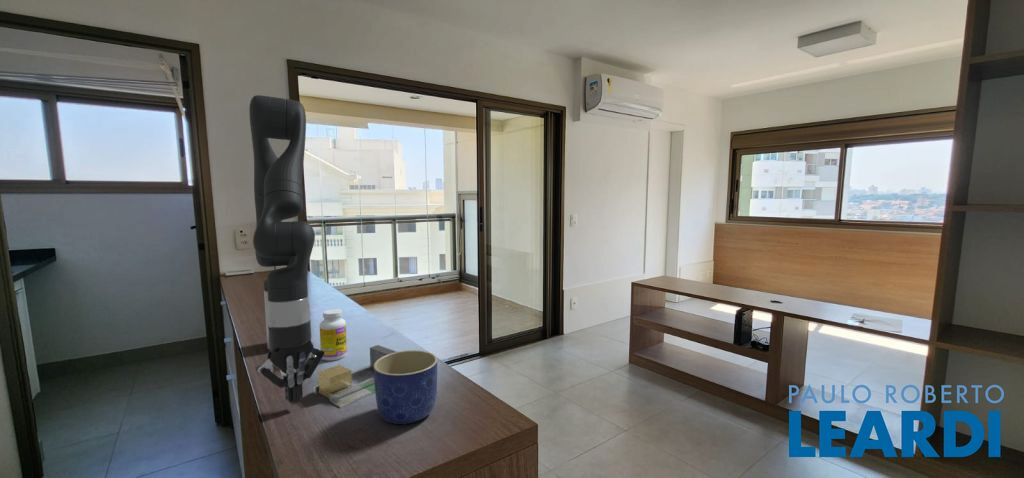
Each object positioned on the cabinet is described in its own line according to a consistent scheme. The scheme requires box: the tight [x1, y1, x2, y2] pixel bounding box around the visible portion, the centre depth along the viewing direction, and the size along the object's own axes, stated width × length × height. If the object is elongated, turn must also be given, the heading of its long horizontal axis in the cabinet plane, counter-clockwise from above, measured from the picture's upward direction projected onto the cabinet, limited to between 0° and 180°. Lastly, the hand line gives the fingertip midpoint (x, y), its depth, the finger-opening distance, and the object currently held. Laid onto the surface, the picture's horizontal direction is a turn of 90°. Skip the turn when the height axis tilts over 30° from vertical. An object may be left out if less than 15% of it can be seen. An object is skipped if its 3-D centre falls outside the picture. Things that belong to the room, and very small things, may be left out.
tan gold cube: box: [317, 364, 353, 400], centre depth 88 cm, size 8×5×5 cm, turn 53°
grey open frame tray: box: [312, 344, 397, 408], centre depth 93 cm, size 11×17×6 cm, turn 143°
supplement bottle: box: [319, 308, 348, 362], centre depth 110 cm, size 7×7×13 cm
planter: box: [373, 349, 438, 425], centre depth 81 cm, size 12×12×11 cm
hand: (294, 401), depth 82 cm, fingers closed
